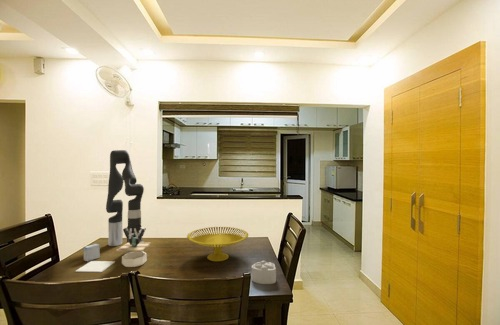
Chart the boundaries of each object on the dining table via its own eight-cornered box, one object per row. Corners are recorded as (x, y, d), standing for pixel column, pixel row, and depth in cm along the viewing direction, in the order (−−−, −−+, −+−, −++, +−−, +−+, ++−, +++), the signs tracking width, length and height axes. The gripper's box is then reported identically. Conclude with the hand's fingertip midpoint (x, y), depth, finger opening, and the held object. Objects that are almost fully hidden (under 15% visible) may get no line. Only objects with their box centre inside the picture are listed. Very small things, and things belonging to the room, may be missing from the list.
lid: (128, 243, 168) (128, 234, 168) (151, 243, 167) (151, 234, 167) (115, 251, 153) (115, 241, 153) (141, 251, 152) (141, 242, 152)
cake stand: (240, 273, 148) (240, 247, 147) (175, 266, 156) (175, 241, 155) (253, 248, 187) (253, 228, 187) (200, 244, 195) (201, 224, 195)
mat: (91, 261, 162) (91, 261, 162) (115, 262, 161) (115, 261, 161) (75, 271, 148) (75, 270, 148) (101, 272, 147) (101, 271, 147)
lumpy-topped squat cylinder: (276, 284, 136) (276, 267, 135) (251, 284, 135) (251, 267, 135) (274, 275, 146) (274, 259, 146) (251, 274, 146) (251, 259, 146)
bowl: (129, 258, 167) (129, 251, 167) (149, 259, 167) (149, 251, 167) (118, 267, 154) (118, 258, 154) (140, 267, 154) (140, 259, 154)
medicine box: (96, 256, 171) (96, 243, 170) (100, 257, 168) (99, 244, 168) (83, 260, 164) (83, 246, 164) (87, 262, 162) (87, 248, 161)
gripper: (148, 215, 163) (148, 242, 164) (126, 215, 164) (126, 242, 164) (143, 218, 156) (143, 246, 156) (120, 217, 156) (120, 246, 157)
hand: (134, 244), depth 160 cm, fingers closed on lid, 3 cm apart
